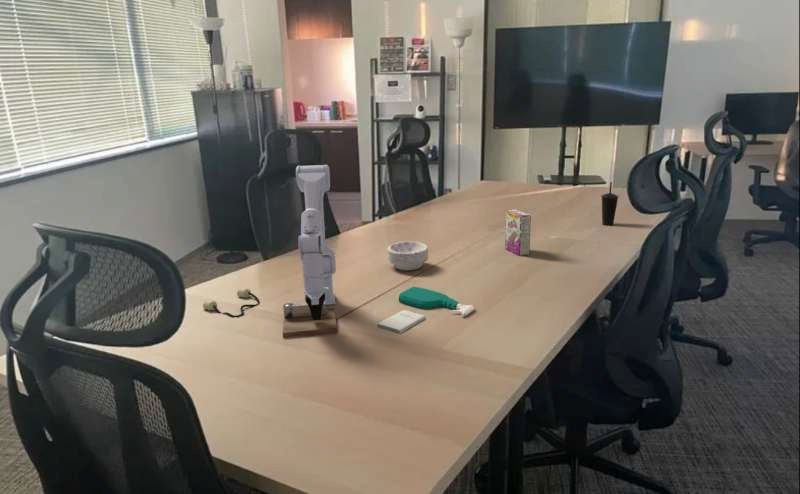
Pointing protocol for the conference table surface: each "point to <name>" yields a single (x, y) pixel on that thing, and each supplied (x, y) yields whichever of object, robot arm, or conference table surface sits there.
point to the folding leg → (300, 309)
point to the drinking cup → (609, 207)
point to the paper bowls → (407, 255)
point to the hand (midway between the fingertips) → (316, 319)
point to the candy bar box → (518, 232)
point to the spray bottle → (432, 300)
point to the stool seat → (310, 325)
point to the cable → (241, 293)
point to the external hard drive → (401, 321)
